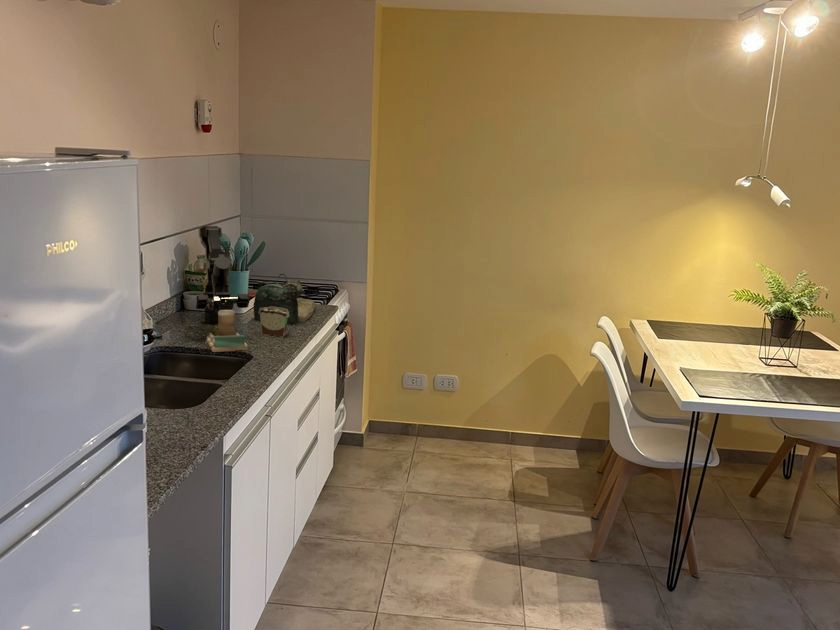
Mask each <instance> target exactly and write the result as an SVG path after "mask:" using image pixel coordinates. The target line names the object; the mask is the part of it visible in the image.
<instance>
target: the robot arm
mask: <svg viewBox="0 0 840 630" xmlns="http://www.w3.org/2000/svg"><path fill="white" fill-rule="evenodd" d="M222 232H223V231H222V227H219V226H217V225H201V227H199V228H198V238H199V239H200V244H201V245H202V246H203V247H204V250H205V251H204V252H205V265H206V266H205V267H206V269H205V270H206V282H207V283H206V285H204V288H203V292H202V294H197V295H196V298H195V309H196V310H204V314H203V315H204V319H203V320H201V323H205V324H212V325H218V311H220V310H233V309H234V304H236V307H237V308H238V309H247V308H249V304H250V302H251V298H250V295H249V294H248V293H238V294H237V297H231V291H230V285H229V278H228V276H229V274H230V269H231V267H233V266H232V263H231V259H230V258H228V256H227V254H226V253H225V252H224V251H223V249H222V244H221V238H222Z"/></svg>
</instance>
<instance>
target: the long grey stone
mask: <svg viewBox="0 0 840 630" xmlns="http://www.w3.org/2000/svg"><path fill="white" fill-rule="evenodd" d="M297 302H298V323H304V322H303V321H305V322H306V321H308V319H310V318H311V317H312V316H313V314H314V311H315V309H316V302H315V301H314V300H313V299H307V298H303V297H298V298H297Z"/></svg>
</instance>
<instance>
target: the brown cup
mask: <svg viewBox="0 0 840 630" xmlns="http://www.w3.org/2000/svg"><path fill="white" fill-rule="evenodd" d="M235 315H236V311H235V310H233V309H232V310H220V311H218V323H217V325H218V326H217V327H218V328H217V330H218V332H217V334H216V336H231V335H235V332H236V331H235V330H236V329H235V326H236V325H235V324H236V321H235V319H236V318H235V317H236V316H235Z"/></svg>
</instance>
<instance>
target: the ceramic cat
mask: <svg viewBox="0 0 840 630" xmlns="http://www.w3.org/2000/svg"><path fill="white" fill-rule="evenodd" d="M281 276H284V277H285V283H283V284H281V283H278V282H275V281H273V280H265V281H262V282H260V284H259V285H258V287H257V291H256V293H255V295H254V302H253V317H254V320H255V321H257V320H258V321H259V322H261V320H260V313H259V310H260V308H264V307H280V308H285V309H287V310H288V312H289V317H288V318H287V323H289V324H288V325H293V324H295V325H296V323H297V324H299V322H298V302H297V298H298V299H299V298H300V296H302V294H303V291H304V287H303V285H302V284H301V282H300V279H297V280H296V281H295V282H290V280H287V278H288V277H287V275H286V274H284V273H280V274H279V275H278V278H279V277H281ZM265 283H268V284H265ZM269 283H270V284H269ZM263 284H265V285H263ZM258 313H259V314H258Z"/></svg>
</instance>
